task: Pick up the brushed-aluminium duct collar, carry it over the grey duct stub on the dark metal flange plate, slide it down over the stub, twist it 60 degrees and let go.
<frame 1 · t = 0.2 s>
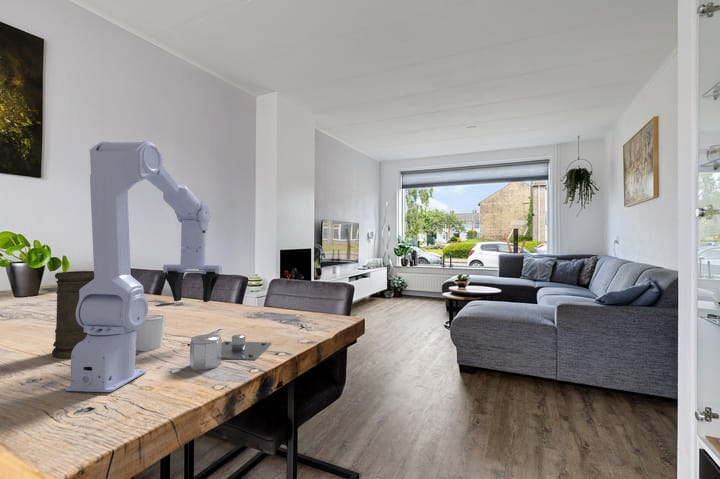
hand: (192, 301, 91), 10 cm above the table, fingers open, 7 cm apart
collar: (205, 365, 73), on the table
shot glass: (148, 348, 84), on the table
container: (78, 353, 80), on the table
duct stub: (238, 350, 83), on the table
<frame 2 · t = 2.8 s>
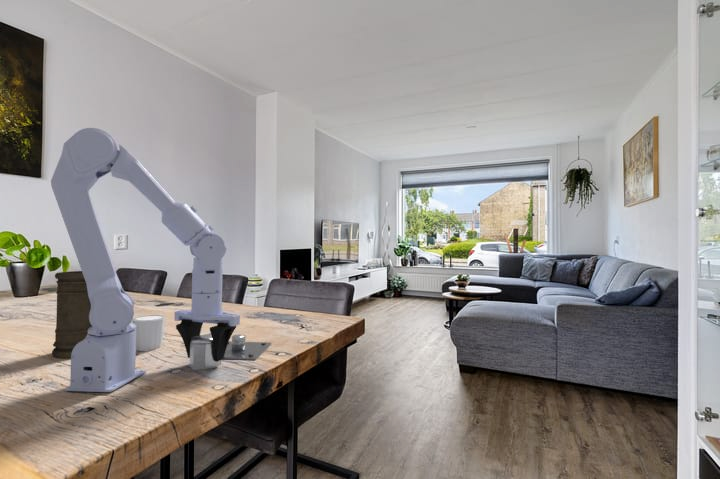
hand: (205, 358, 73), 1 cm above the table, fingers closed on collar, 6 cm apart
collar: (205, 365, 73), on the table, touching gripper
everything else where it was.
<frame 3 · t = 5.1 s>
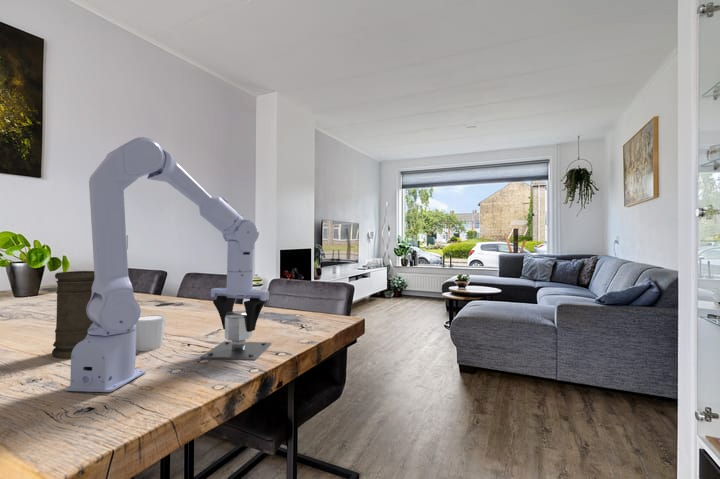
hand: (238, 329, 83), 5 cm above the table, fingers closed on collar, 6 cm apart
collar: (238, 337, 83), point 3 cm above the table, touching gripper
everything else where it was.
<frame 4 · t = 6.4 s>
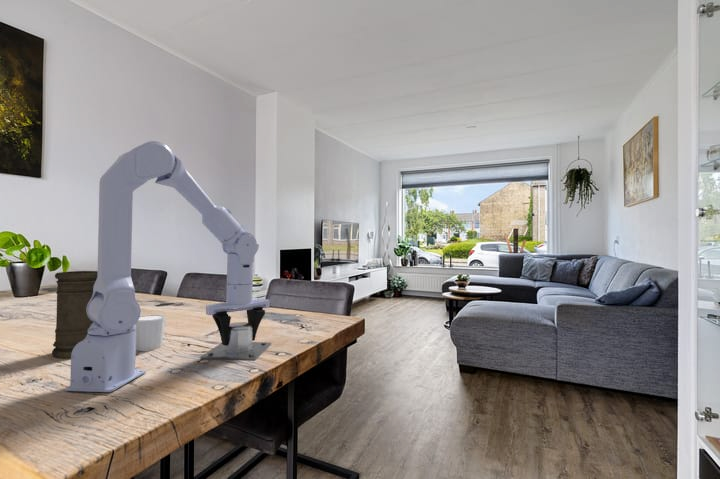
hand: (238, 342, 83), 2 cm above the table, fingers closed on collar, 6 cm apart
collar: (238, 349, 83), resting on duct stub, touching gripper
everything else where it was.
when the fingers open (2 cm above the table, at t = 7.3 s): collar stays where it is, resting on duct stub.
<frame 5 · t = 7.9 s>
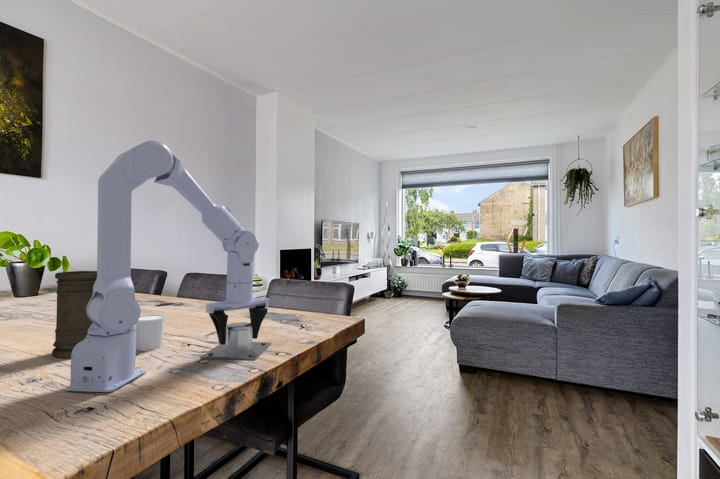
hand: (238, 340, 83), 2 cm above the table, fingers open, 7 cm apart
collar: (238, 349, 83), resting on duct stub
everything else where it was.
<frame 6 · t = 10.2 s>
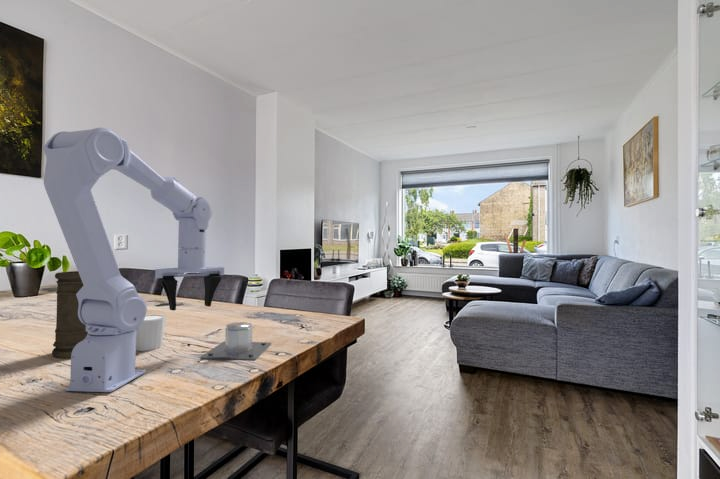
hand: (190, 307, 82), 10 cm above the table, fingers open, 7 cm apart
nothing on the table moved.
at the end: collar 0.1 cm off-centre on the duct stub, point 0.4 cm above the duct stub's base; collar tilted 0°; the gripper is holding nothing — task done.
